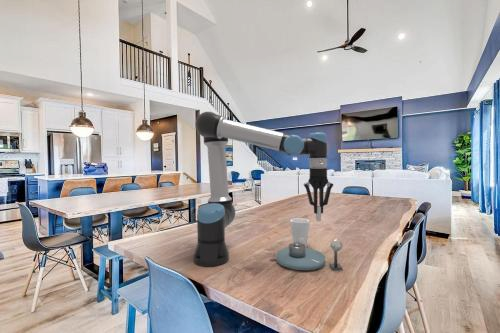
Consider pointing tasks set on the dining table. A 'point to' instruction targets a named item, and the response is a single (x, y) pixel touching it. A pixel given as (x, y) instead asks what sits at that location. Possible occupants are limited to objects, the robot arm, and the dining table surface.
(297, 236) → the foam cup
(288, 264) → the turntable
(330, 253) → the dining table surface
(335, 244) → the dial stand
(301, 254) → the cover
